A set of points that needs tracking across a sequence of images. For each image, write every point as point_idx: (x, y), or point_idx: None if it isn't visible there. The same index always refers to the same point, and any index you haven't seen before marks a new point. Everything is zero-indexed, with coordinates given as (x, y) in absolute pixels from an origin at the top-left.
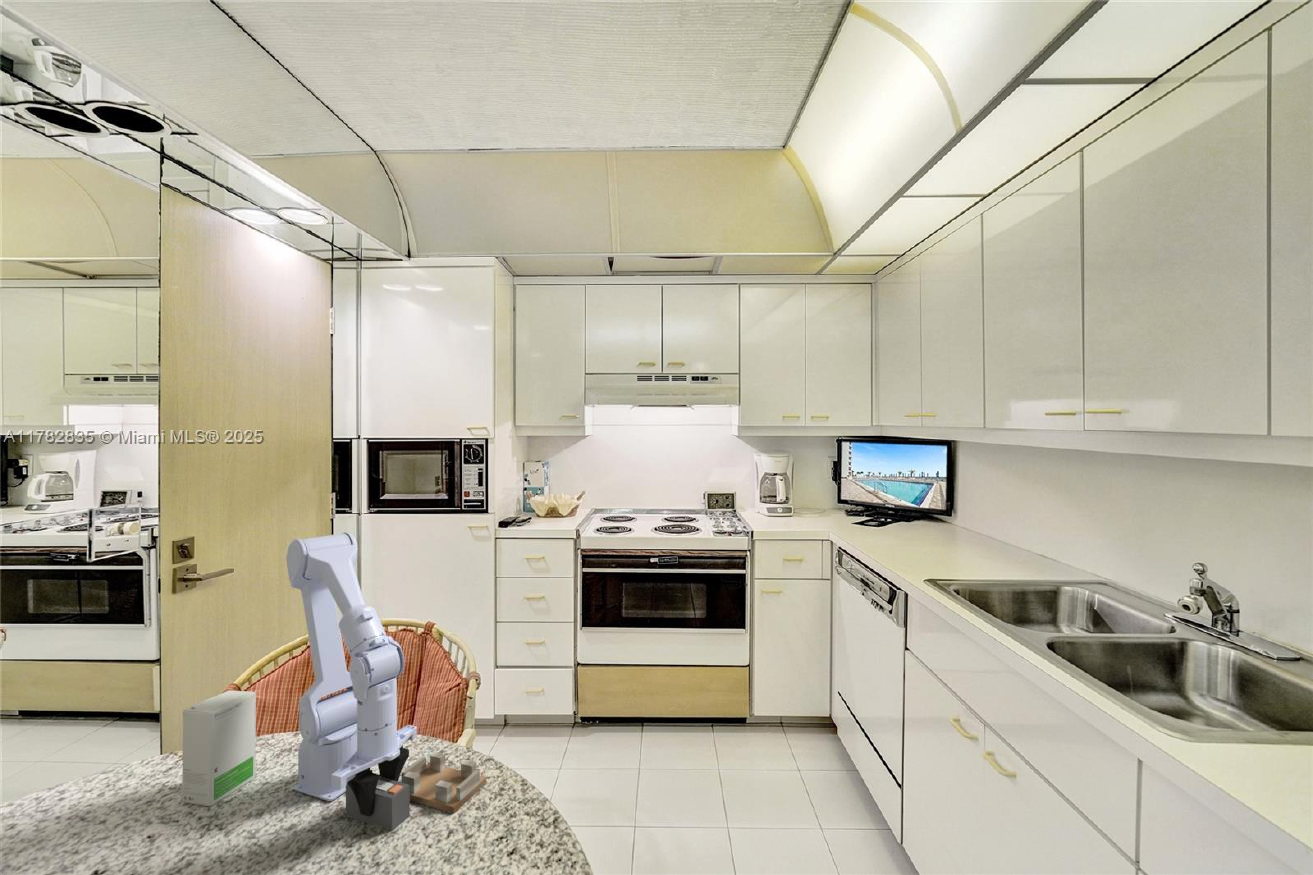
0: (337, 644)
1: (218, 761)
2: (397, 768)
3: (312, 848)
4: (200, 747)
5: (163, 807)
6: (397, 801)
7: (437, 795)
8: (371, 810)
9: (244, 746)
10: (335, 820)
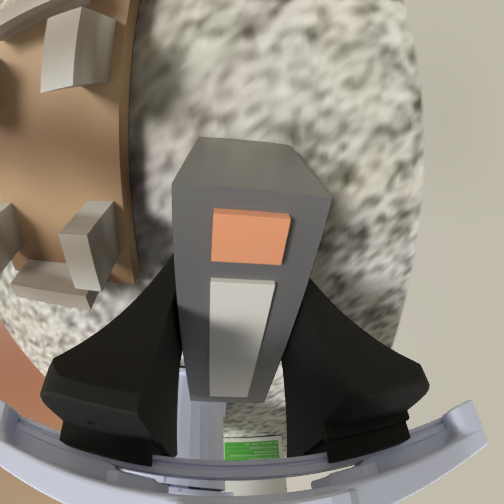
0: None
1: (275, 481)
2: (151, 346)
3: (366, 305)
4: None
5: (286, 445)
6: (279, 175)
7: (99, 71)
8: None
9: (239, 483)
10: None
